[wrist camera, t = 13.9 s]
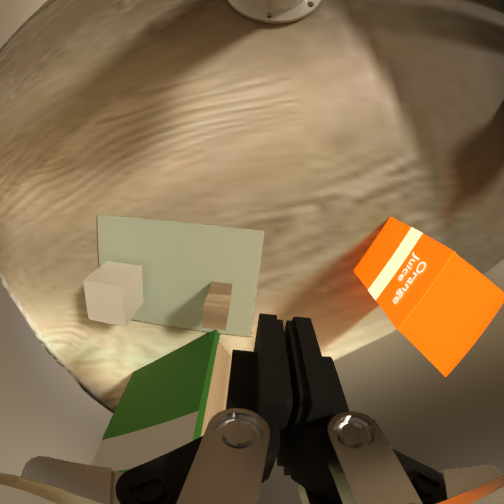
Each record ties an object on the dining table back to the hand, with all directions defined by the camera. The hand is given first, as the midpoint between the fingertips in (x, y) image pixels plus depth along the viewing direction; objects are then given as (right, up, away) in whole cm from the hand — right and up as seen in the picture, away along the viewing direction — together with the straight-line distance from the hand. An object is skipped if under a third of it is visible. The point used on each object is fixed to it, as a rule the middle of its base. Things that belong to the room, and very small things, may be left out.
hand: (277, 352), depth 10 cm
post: (-5, -2, +29) cm, 29 cm away
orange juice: (+18, +3, +28) cm, 33 cm away
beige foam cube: (-18, -1, +28) cm, 33 cm away
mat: (-11, 0, +29) cm, 31 cm away
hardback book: (-11, -15, +33) cm, 38 cm away
